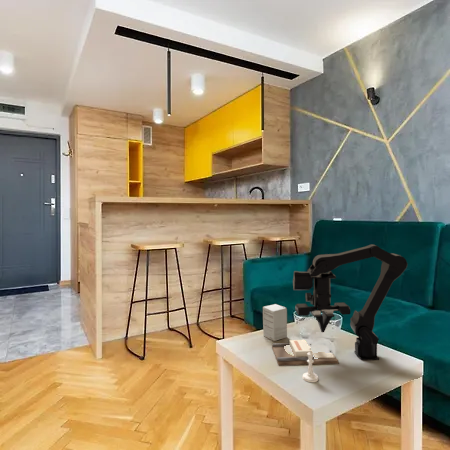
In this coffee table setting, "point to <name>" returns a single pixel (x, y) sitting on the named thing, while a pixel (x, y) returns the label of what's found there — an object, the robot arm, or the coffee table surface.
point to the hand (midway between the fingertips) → (322, 331)
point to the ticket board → (288, 359)
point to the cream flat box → (300, 348)
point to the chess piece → (310, 370)
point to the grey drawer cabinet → (275, 322)
